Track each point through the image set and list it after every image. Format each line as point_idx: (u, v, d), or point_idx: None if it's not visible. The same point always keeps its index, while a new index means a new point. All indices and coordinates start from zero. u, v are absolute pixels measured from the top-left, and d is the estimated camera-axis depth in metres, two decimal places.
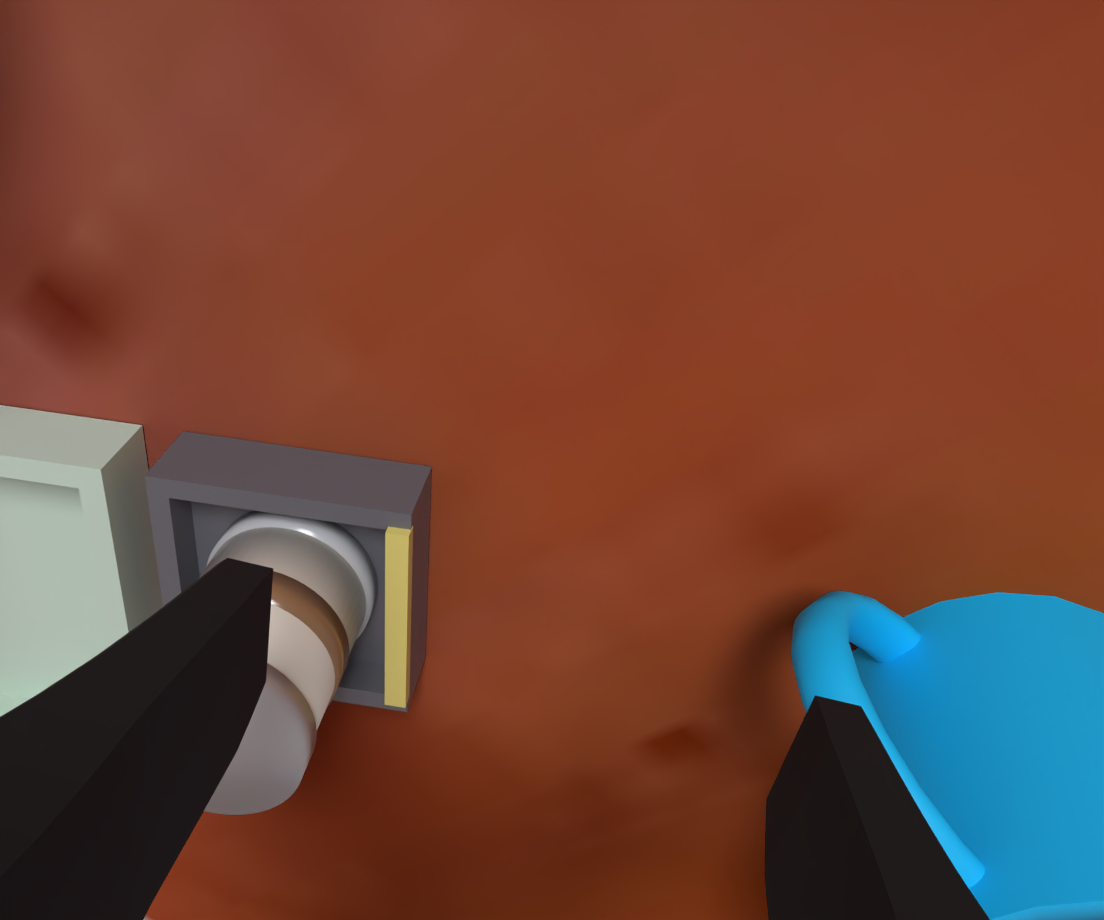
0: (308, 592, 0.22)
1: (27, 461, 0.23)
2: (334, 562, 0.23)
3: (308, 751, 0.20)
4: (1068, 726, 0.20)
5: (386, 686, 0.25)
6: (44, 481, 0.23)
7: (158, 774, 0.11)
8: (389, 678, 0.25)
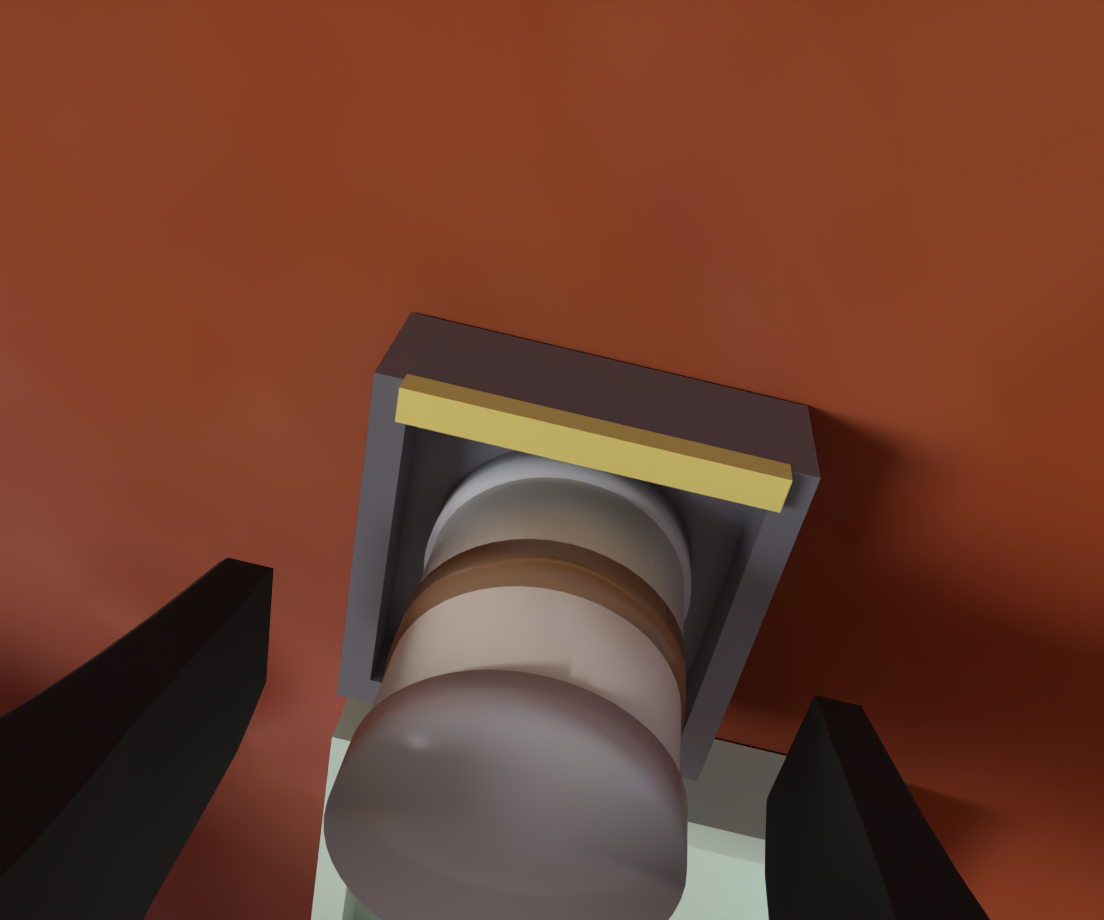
0: (440, 571, 0.13)
1: None
2: (471, 508, 0.14)
3: (544, 711, 0.10)
4: None
5: (735, 499, 0.13)
6: None
7: (158, 774, 0.11)
8: (715, 489, 0.13)
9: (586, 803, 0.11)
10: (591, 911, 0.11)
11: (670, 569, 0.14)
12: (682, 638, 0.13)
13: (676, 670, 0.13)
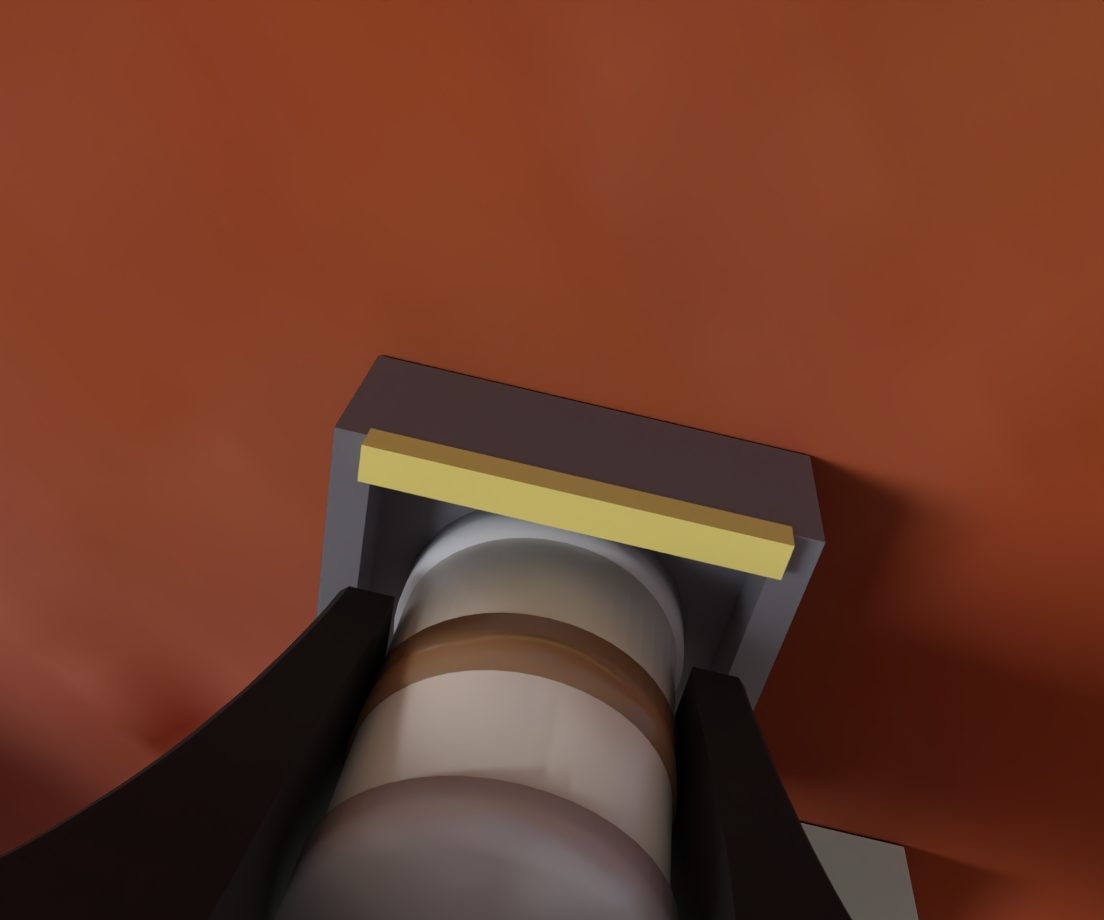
0: (407, 646, 0.12)
1: None
2: (443, 571, 0.13)
3: (516, 829, 0.09)
4: None
5: (731, 565, 0.12)
6: None
7: (303, 808, 0.11)
8: (709, 555, 0.12)
9: None
10: None
11: (660, 639, 0.13)
12: (673, 719, 0.12)
13: (666, 759, 0.11)
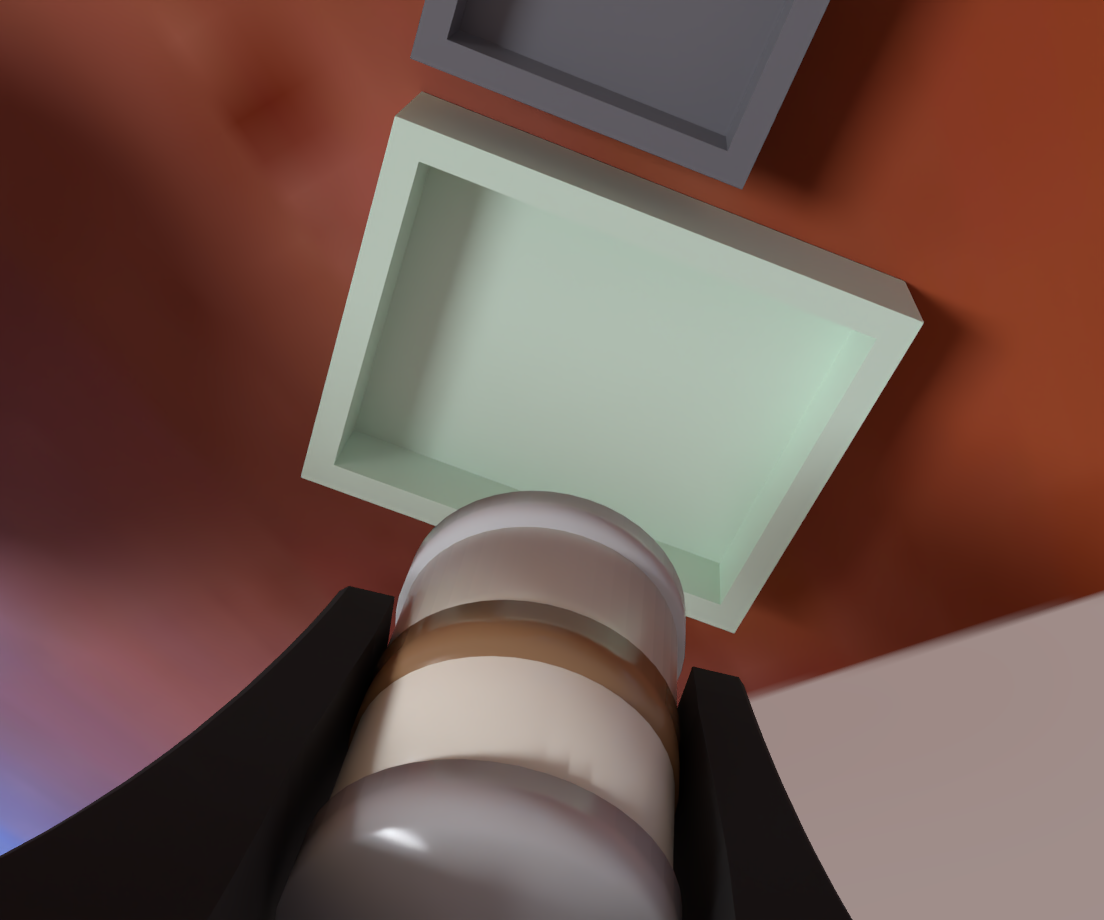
0: (407, 636, 0.12)
1: (375, 208, 0.19)
2: (443, 562, 0.13)
3: (515, 810, 0.09)
4: None
5: None
6: (404, 201, 0.18)
7: (303, 808, 0.11)
8: None
9: (565, 910, 0.09)
10: None
11: (661, 625, 0.13)
12: (674, 703, 0.12)
13: (667, 743, 0.11)
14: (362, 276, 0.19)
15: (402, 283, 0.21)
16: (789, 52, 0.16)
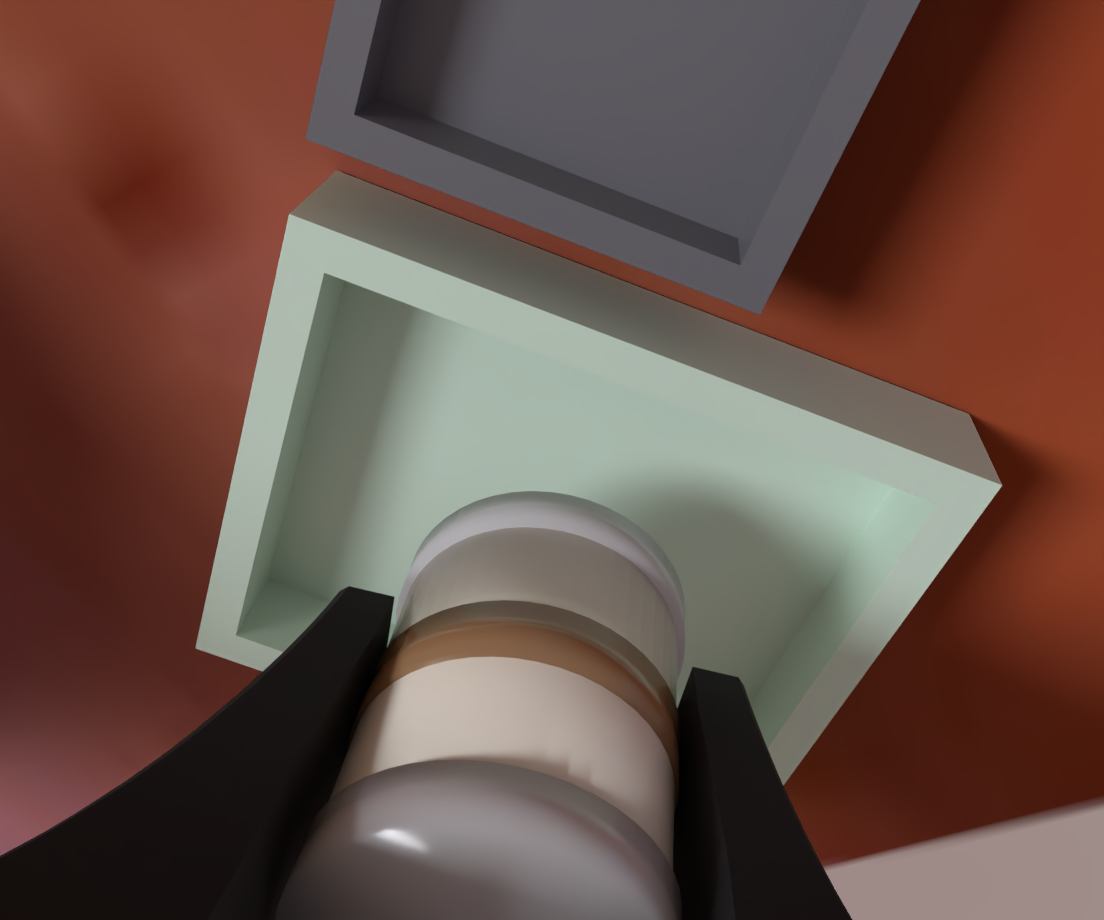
0: (408, 636, 0.12)
1: (270, 330, 0.14)
2: (443, 562, 0.13)
3: (515, 810, 0.09)
4: None
5: None
6: (307, 323, 0.14)
7: (303, 808, 0.11)
8: None
9: (565, 911, 0.09)
10: None
11: (660, 625, 0.13)
12: (674, 704, 0.12)
13: (667, 743, 0.11)
14: (258, 414, 0.15)
15: (319, 409, 0.16)
16: (827, 136, 0.12)
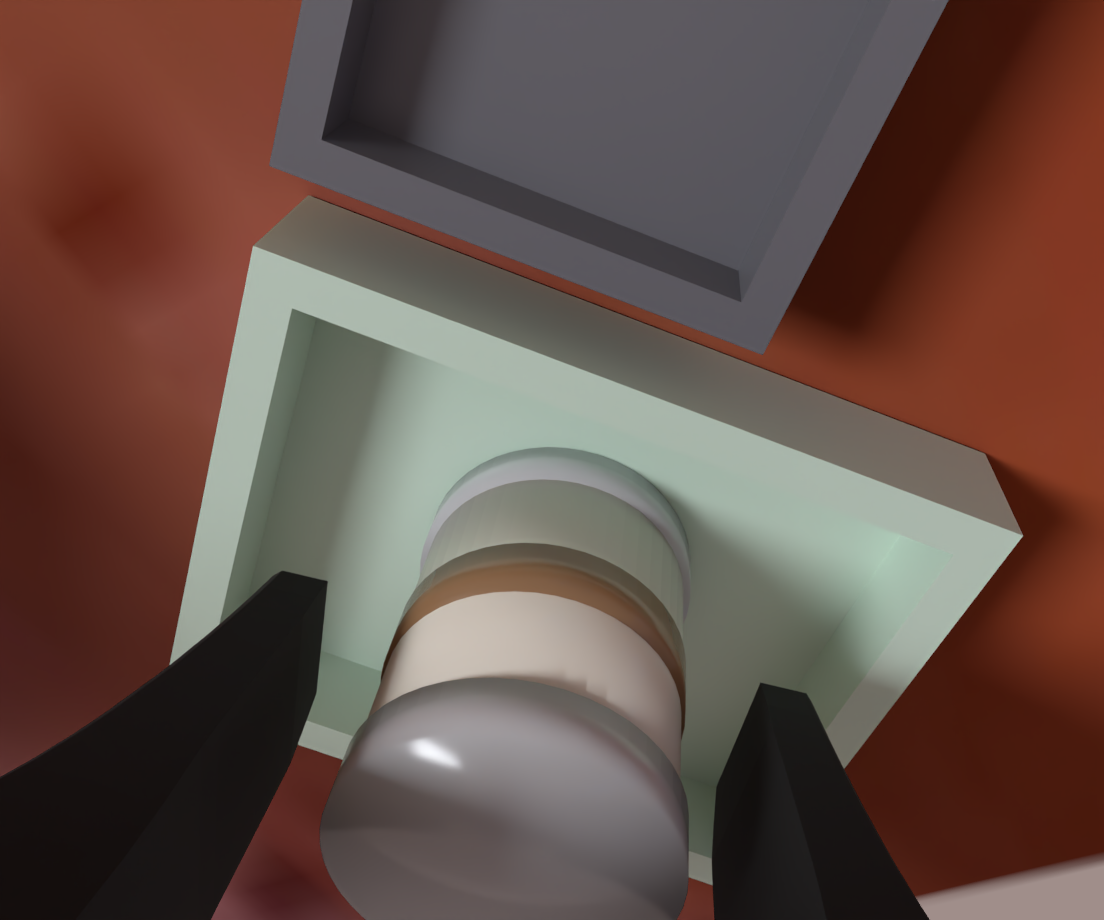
0: (434, 577, 0.13)
1: (236, 369, 0.13)
2: (465, 512, 0.14)
3: (538, 719, 0.10)
4: None
5: None
6: (275, 361, 0.13)
7: (223, 790, 0.11)
8: None
9: (584, 811, 0.10)
10: (593, 919, 0.11)
11: (668, 569, 0.14)
12: (681, 639, 0.13)
13: (675, 672, 0.12)
14: (224, 457, 0.14)
15: (293, 447, 0.15)
16: (837, 164, 0.11)
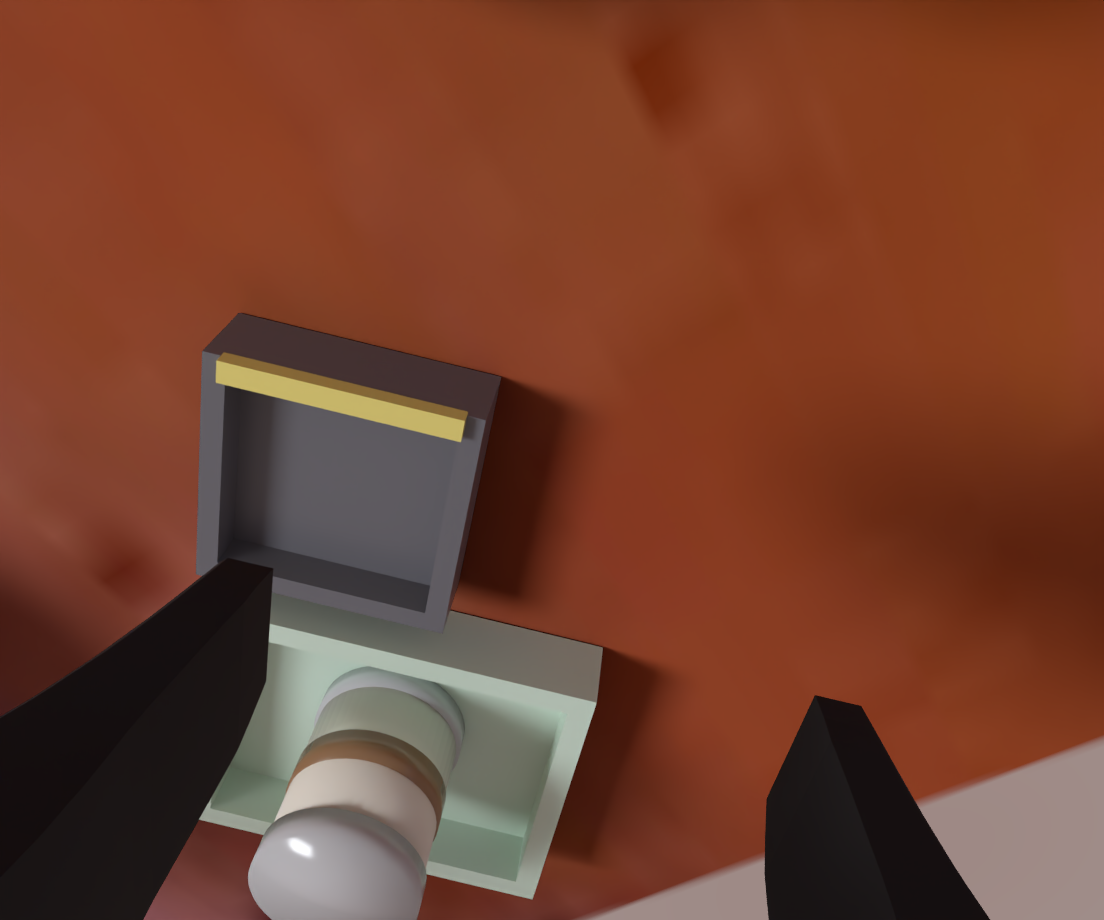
0: (307, 749, 0.26)
1: None
2: (328, 708, 0.27)
3: (333, 827, 0.23)
4: None
5: (432, 433, 0.21)
6: None
7: (158, 774, 0.11)
8: (418, 427, 0.21)
9: (359, 866, 0.23)
10: (382, 916, 0.24)
11: (434, 729, 0.26)
12: (436, 769, 0.26)
13: (424, 789, 0.25)
14: None
15: None
16: (447, 557, 0.23)
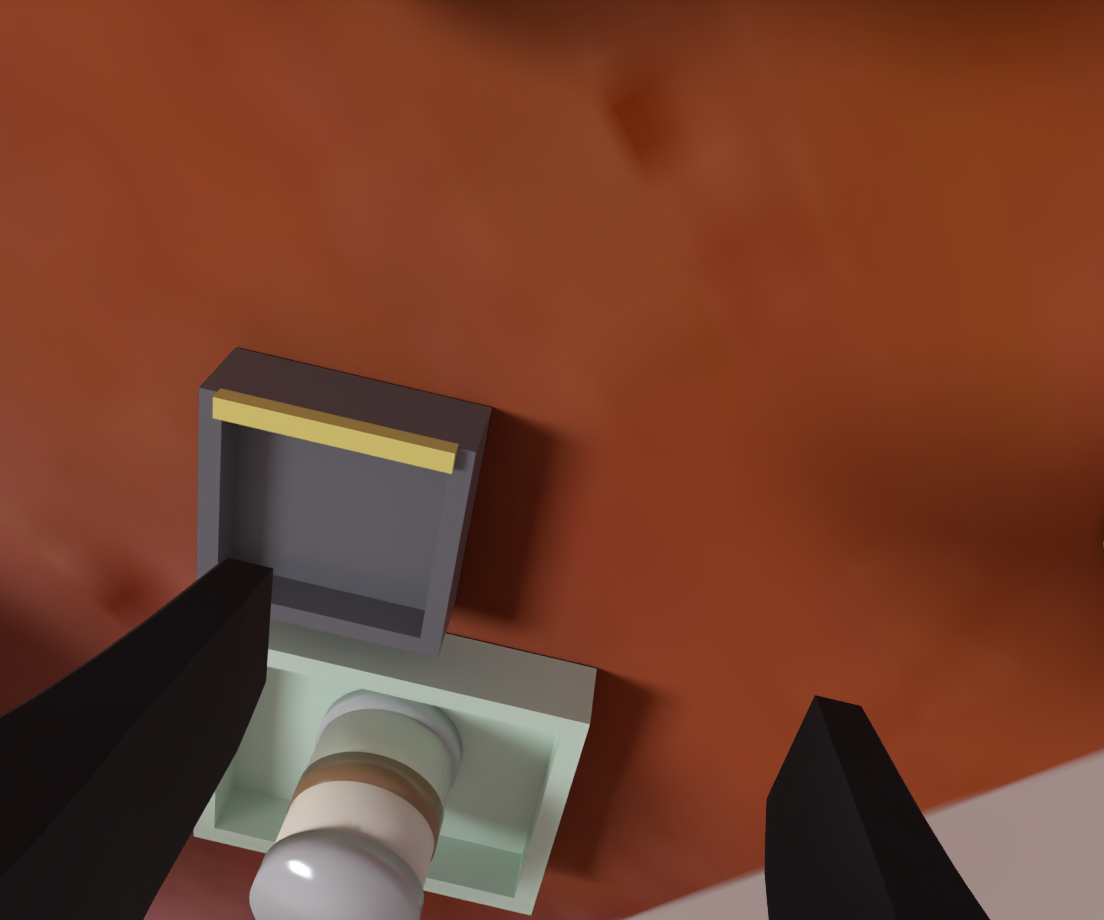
0: (308, 771, 0.26)
1: None
2: (327, 730, 0.27)
3: (331, 849, 0.23)
4: None
5: (423, 465, 0.22)
6: None
7: (158, 774, 0.11)
8: (410, 459, 0.22)
9: (358, 887, 0.23)
10: None
11: (432, 750, 0.27)
12: (433, 790, 0.26)
13: (421, 810, 0.25)
14: None
15: None
16: (441, 584, 0.24)
